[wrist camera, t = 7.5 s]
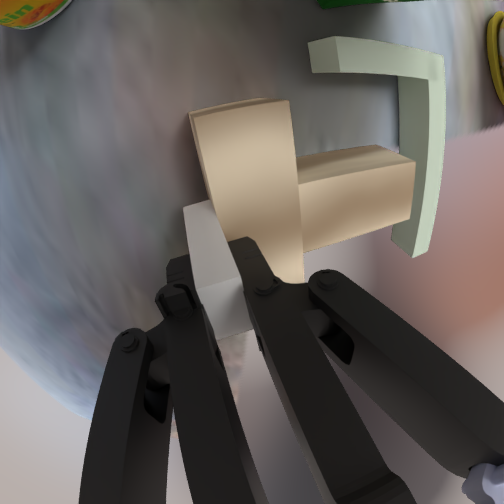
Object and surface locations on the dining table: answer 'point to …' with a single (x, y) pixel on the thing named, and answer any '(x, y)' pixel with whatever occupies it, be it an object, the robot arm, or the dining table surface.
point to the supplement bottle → (29, 12)
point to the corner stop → (402, 117)
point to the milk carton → (356, 2)
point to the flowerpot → (496, 52)
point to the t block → (293, 184)
